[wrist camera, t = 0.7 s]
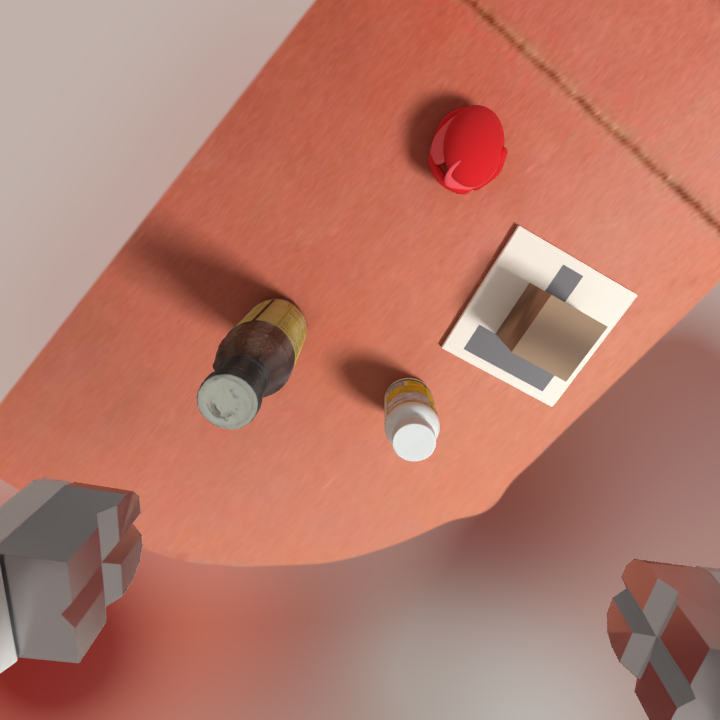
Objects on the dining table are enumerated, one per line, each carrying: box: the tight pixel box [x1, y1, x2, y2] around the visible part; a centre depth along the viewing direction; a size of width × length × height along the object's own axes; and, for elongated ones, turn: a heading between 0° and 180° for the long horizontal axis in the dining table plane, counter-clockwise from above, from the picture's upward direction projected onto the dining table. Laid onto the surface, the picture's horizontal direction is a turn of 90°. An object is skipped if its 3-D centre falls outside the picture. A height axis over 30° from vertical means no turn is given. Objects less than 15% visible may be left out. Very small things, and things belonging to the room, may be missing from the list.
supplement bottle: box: [384, 378, 440, 461], centre depth 46 cm, size 5×5×10 cm
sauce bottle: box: [197, 298, 307, 429], centre depth 38 cm, size 6×6×20 cm
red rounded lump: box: [428, 105, 507, 194], centre depth 39 cm, size 8×6×6 cm
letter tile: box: [441, 226, 638, 407], centre depth 46 cm, size 14×14×1 cm
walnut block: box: [496, 283, 607, 382], centre depth 43 cm, size 6×6×6 cm
